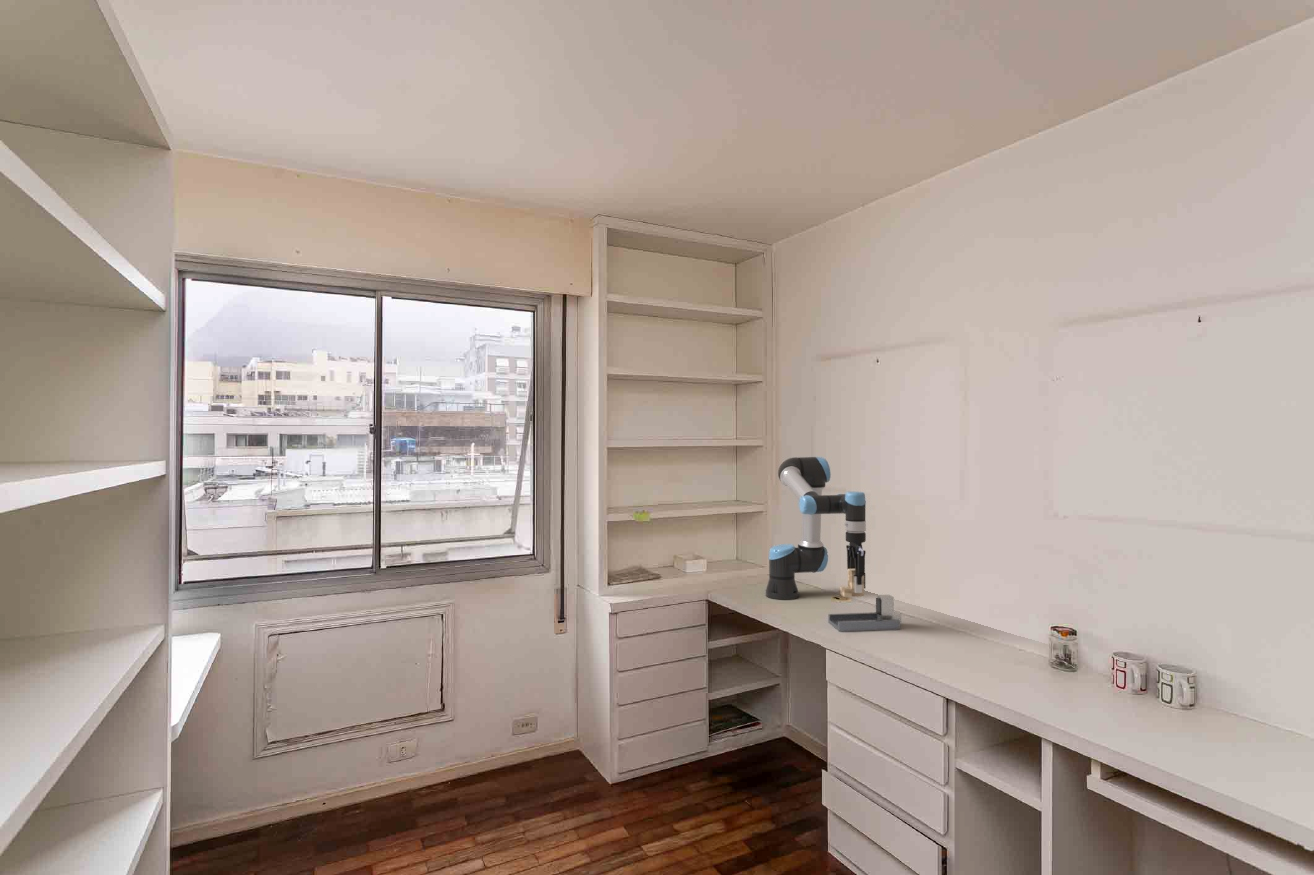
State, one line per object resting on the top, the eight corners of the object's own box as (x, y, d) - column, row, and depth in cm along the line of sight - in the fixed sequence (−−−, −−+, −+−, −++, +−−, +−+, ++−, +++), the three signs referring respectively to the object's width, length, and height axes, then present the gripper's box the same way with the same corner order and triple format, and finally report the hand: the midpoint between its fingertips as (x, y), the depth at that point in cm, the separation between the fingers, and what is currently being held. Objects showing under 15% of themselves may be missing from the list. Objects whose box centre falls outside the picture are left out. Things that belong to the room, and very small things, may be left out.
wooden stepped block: (840, 594, 263) (840, 569, 263) (861, 593, 264) (861, 568, 264) (844, 596, 259) (844, 571, 259) (865, 596, 260) (865, 570, 260)
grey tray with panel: (828, 622, 267) (828, 594, 267) (892, 620, 270) (892, 591, 270) (839, 631, 255) (839, 601, 255) (906, 629, 258) (905, 599, 258)
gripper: (838, 528, 270) (838, 586, 270) (854, 535, 253) (855, 596, 253) (856, 528, 270) (856, 586, 271) (873, 534, 253) (874, 596, 254)
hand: (856, 591), depth 262 cm, fingers closed on wooden stepped block, 4 cm apart
